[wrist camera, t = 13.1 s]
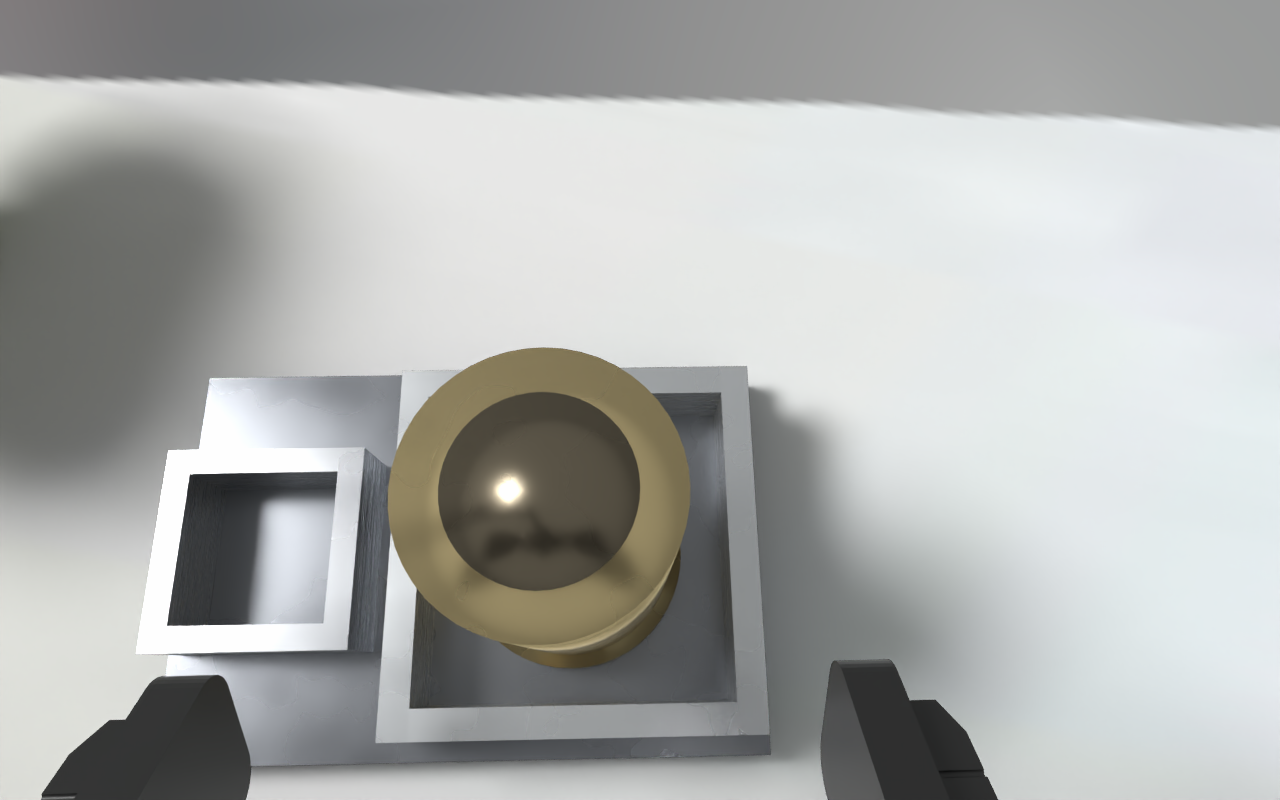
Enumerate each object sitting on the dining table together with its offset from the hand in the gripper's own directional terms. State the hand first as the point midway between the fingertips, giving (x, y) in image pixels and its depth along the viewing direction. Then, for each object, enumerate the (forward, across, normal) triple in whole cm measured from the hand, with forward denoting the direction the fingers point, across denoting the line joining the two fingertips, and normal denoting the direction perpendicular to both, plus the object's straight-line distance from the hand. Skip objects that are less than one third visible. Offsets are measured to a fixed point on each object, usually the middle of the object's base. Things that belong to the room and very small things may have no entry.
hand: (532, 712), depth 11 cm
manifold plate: (+10, +3, +6) cm, 12 cm away
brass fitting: (+10, 0, +5) cm, 11 cm away
